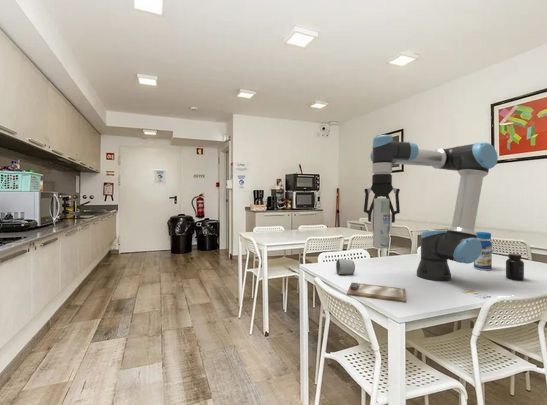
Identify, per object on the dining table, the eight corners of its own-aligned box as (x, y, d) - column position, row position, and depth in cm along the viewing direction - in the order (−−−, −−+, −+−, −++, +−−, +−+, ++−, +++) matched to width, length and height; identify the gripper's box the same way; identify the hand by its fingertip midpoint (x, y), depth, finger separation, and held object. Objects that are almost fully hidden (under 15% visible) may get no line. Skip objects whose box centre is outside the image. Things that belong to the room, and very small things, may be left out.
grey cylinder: (355, 275, 147) (355, 260, 147) (339, 276, 147) (339, 260, 146) (348, 270, 158) (349, 256, 158) (333, 270, 157) (334, 256, 157)
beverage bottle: (485, 267, 166) (486, 231, 165) (495, 271, 157) (496, 233, 157) (470, 266, 166) (470, 231, 166) (478, 270, 158) (479, 233, 157)
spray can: (383, 249, 116) (384, 198, 116) (369, 246, 122) (370, 198, 121) (392, 247, 120) (393, 198, 120) (378, 245, 126) (379, 198, 125)
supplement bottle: (519, 277, 145) (520, 253, 144) (526, 281, 138) (527, 256, 138) (503, 276, 147) (503, 252, 147) (509, 280, 141) (509, 255, 140)
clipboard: (404, 290, 125) (404, 285, 125) (406, 302, 111) (406, 296, 111) (351, 284, 133) (351, 279, 133) (346, 294, 119) (346, 289, 119)
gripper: (407, 174, 120) (406, 230, 121) (358, 175, 127) (357, 228, 128) (408, 172, 113) (407, 232, 114) (356, 173, 120) (355, 230, 121)
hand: (381, 230), depth 121 cm, fingers closed on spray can, 6 cm apart
